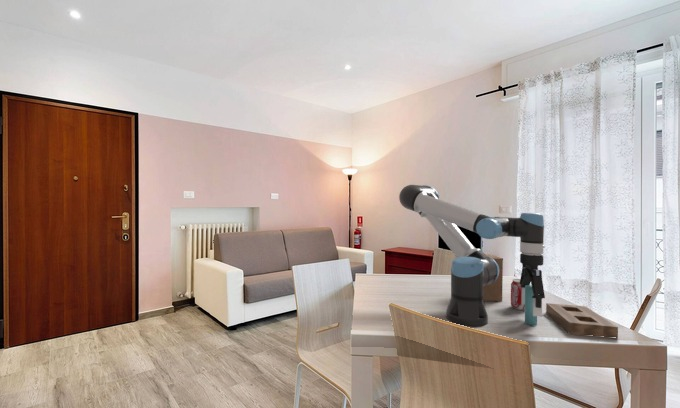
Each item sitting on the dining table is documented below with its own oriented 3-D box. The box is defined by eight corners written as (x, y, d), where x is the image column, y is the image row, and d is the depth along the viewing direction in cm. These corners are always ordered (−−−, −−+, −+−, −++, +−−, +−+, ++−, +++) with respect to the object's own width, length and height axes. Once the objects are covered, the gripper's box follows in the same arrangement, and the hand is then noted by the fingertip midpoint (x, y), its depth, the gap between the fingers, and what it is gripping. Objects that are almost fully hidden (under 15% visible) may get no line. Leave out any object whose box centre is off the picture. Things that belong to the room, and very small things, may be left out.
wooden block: (502, 301, 145) (503, 258, 145) (480, 301, 145) (481, 258, 145) (492, 295, 155) (493, 254, 155) (472, 294, 155) (472, 254, 155)
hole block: (569, 334, 109) (569, 322, 109) (546, 312, 130) (546, 303, 130) (617, 338, 105) (617, 327, 105) (585, 316, 127) (585, 306, 127)
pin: (526, 324, 117) (527, 287, 117) (523, 321, 121) (523, 284, 121) (538, 326, 116) (539, 288, 116) (535, 322, 120) (535, 285, 120)
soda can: (506, 306, 138) (507, 279, 138) (518, 305, 140) (518, 278, 140) (521, 312, 131) (521, 283, 131) (533, 310, 134) (533, 282, 134)
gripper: (556, 260, 105) (555, 323, 105) (531, 249, 129) (531, 300, 130) (531, 258, 107) (530, 320, 107) (511, 248, 131) (511, 299, 131)
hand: (531, 309), depth 118 cm, fingers open, 13 cm apart
